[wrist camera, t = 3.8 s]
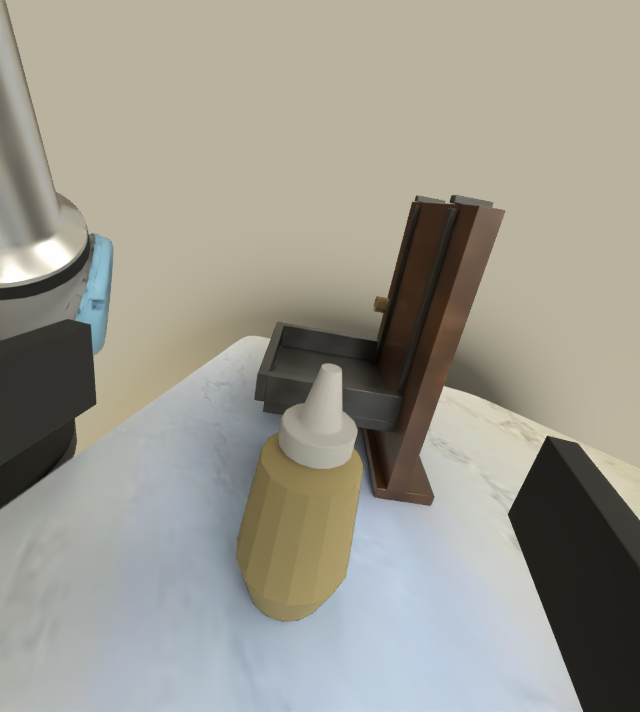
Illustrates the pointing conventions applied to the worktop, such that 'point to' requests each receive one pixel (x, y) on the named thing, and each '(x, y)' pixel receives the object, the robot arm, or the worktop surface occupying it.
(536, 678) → the worktop surface
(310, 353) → the door rack
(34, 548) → the worktop surface
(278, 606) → the squeeze bottle
